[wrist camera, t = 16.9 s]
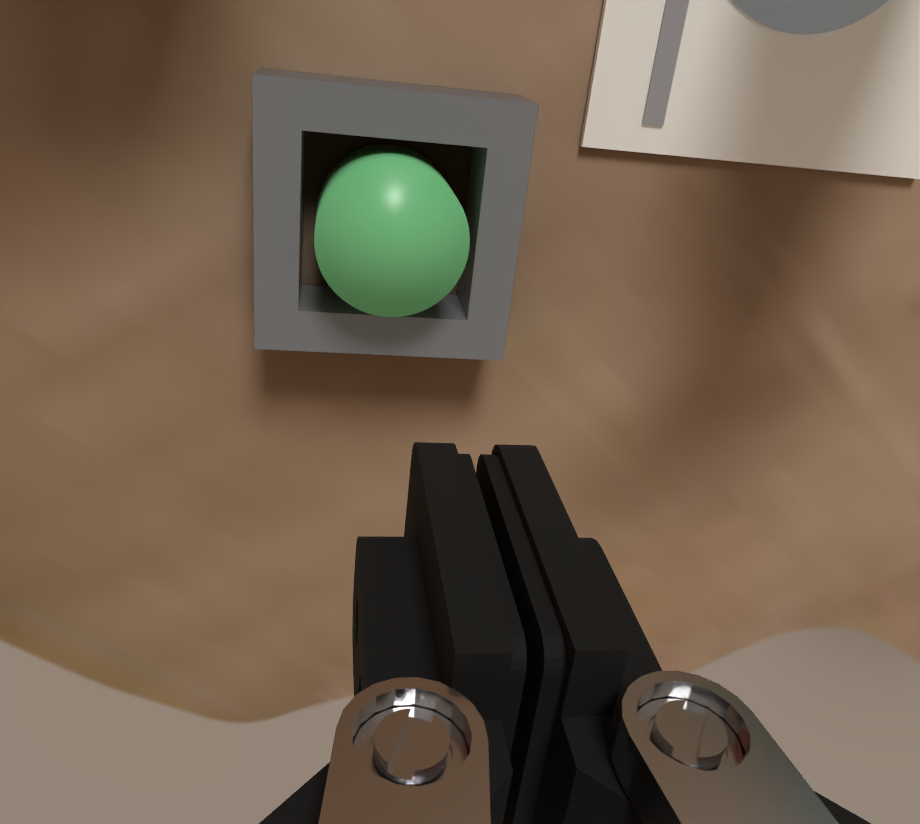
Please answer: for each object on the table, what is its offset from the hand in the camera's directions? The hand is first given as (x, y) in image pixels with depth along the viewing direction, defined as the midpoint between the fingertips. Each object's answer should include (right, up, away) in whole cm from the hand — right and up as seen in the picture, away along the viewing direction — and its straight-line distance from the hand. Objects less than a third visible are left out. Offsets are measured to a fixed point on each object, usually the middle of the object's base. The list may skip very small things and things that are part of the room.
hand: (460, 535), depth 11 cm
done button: (-3, +9, +18) cm, 20 cm away
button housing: (-3, +9, +18) cm, 21 cm away
